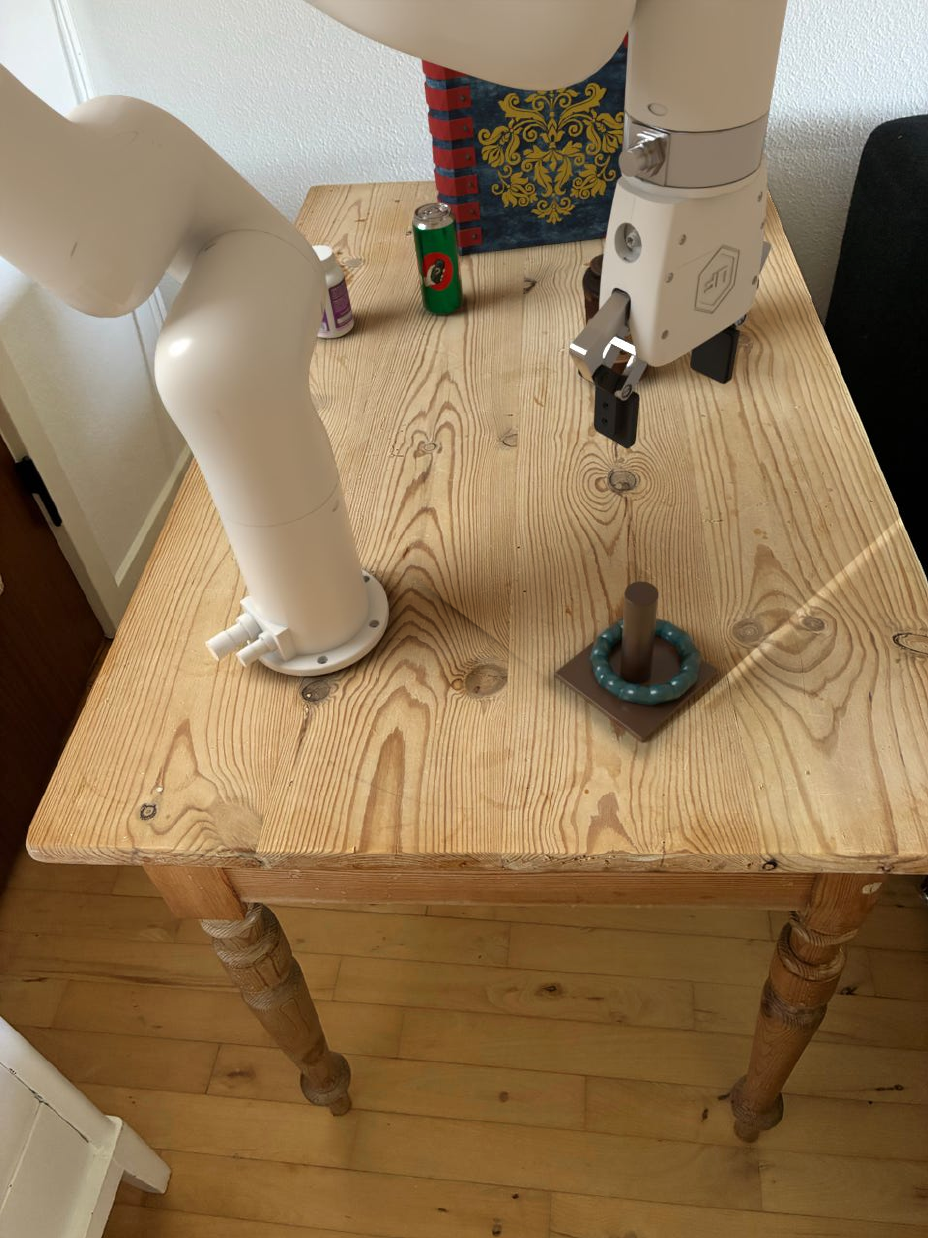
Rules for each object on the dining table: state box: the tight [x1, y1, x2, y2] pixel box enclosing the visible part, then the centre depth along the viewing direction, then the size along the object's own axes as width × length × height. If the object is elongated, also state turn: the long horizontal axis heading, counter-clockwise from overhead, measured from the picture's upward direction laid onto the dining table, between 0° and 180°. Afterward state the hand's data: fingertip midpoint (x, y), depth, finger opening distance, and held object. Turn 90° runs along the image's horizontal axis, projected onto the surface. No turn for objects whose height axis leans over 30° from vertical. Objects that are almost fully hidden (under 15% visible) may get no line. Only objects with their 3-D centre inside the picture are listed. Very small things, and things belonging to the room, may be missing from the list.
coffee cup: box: [581, 253, 650, 382], centre depth 98 cm, size 9×8×13 cm
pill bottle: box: [311, 244, 355, 339], centre depth 111 cm, size 5×5×10 cm
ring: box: [590, 617, 702, 705], centre depth 74 cm, size 8×8×1 cm
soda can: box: [411, 201, 465, 317], centre depth 111 cm, size 5×5×12 cm
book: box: [420, 31, 629, 257], centre depth 116 cm, size 25×7×25 cm, turn 94°
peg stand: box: [554, 581, 719, 743], centre depth 71 cm, size 9×9×10 cm
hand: (663, 405), depth 63 cm, fingers open, 9 cm apart
